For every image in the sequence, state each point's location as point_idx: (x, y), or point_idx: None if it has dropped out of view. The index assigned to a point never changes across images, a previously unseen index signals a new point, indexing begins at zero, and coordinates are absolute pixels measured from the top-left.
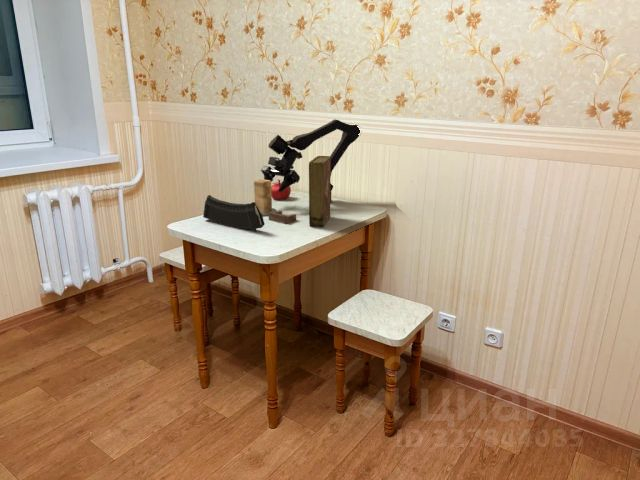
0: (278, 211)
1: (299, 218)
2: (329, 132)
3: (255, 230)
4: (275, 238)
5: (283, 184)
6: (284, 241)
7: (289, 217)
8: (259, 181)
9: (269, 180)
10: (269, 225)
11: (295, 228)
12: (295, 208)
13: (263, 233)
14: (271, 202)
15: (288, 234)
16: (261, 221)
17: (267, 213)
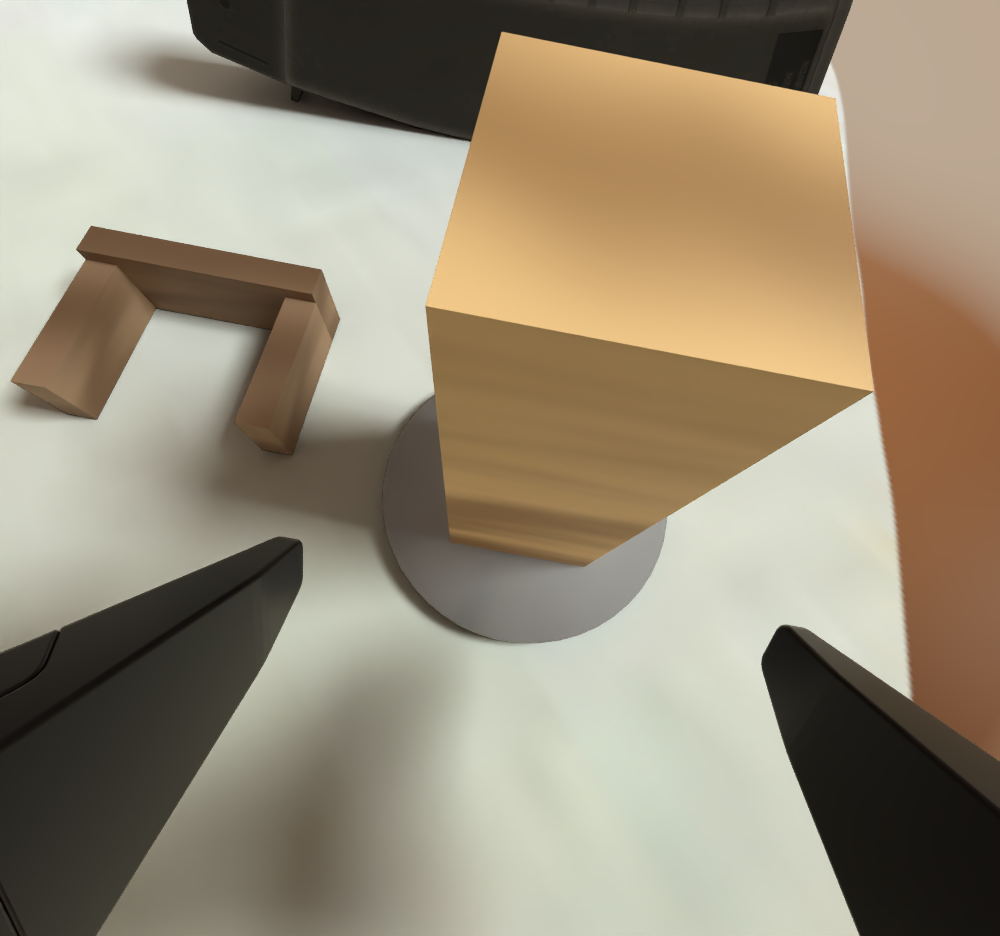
0: (267, 391)
1: (50, 480)
2: None
3: (293, 88)
4: (93, 33)
5: (70, 641)
6: (12, 12)
7: (77, 295)
8: (671, 101)
9: (492, 307)
10: (259, 210)
11: (5, 219)
12: (259, 894)
13: (217, 77)
14: (448, 513)
15: (24, 105)
16: (211, 9)
17: (431, 424)
